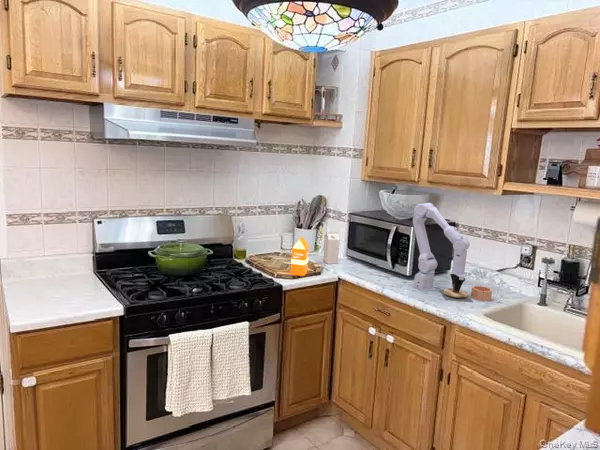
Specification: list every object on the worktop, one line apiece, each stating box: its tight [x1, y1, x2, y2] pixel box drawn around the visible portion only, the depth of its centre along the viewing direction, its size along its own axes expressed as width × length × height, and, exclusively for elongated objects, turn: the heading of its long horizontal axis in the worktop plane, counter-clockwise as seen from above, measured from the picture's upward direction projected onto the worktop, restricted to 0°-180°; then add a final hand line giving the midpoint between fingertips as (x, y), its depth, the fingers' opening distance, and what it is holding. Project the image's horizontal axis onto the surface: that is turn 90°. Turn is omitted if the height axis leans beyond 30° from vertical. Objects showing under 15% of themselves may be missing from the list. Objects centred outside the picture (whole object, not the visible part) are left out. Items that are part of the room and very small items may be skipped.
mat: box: [438, 289, 474, 303], centre depth 219 cm, size 13×16×1 cm
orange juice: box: [290, 236, 310, 277], centre depth 244 cm, size 8×9×20 cm
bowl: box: [470, 285, 493, 302], centre depth 218 cm, size 9×9×5 cm
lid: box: [443, 284, 469, 298], centre depth 219 cm, size 11×11×5 cm
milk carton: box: [323, 231, 341, 265], centre depth 271 cm, size 7×7×19 cm
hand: (455, 289), depth 219 cm, fingers closed on lid, 3 cm apart
